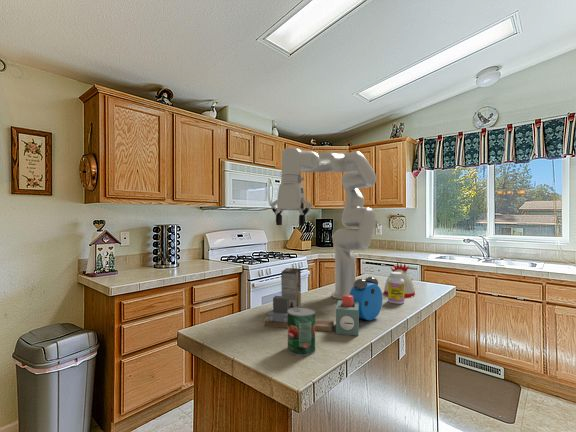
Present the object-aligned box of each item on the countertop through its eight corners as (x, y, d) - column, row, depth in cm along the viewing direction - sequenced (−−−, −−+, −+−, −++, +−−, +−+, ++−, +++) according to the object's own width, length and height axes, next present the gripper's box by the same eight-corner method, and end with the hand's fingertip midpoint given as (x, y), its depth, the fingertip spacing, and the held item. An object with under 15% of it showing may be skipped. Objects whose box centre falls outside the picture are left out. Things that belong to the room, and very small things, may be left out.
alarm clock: (369, 313, 120) (369, 274, 120) (383, 317, 115) (383, 276, 115) (347, 320, 111) (347, 278, 111) (361, 325, 106) (361, 281, 106)
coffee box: (286, 306, 129) (285, 267, 129) (301, 307, 128) (301, 268, 128) (281, 313, 120) (281, 271, 120) (297, 314, 119) (297, 272, 119)
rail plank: (270, 319, 113) (270, 315, 113) (333, 324, 107) (333, 319, 107) (264, 325, 106) (264, 321, 106) (331, 331, 101) (331, 326, 101)
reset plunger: (342, 309, 105) (342, 294, 105) (353, 309, 104) (353, 295, 104) (341, 312, 101) (341, 297, 101) (353, 313, 101) (353, 297, 101)
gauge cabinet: (338, 323, 108) (338, 300, 108) (358, 324, 107) (358, 301, 107) (335, 334, 98) (335, 309, 98) (358, 336, 97) (358, 310, 97)
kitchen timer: (415, 298, 140) (415, 265, 140) (384, 296, 145) (384, 264, 145) (413, 291, 154) (413, 261, 154) (384, 289, 158) (384, 260, 158)
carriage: (274, 314, 113) (274, 293, 113) (293, 315, 111) (293, 295, 111) (268, 321, 105) (268, 299, 105) (288, 323, 103) (288, 300, 103)
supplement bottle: (388, 303, 132) (388, 273, 132) (387, 299, 138) (387, 271, 138) (405, 304, 130) (405, 274, 130) (403, 300, 137) (403, 271, 137)
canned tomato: (321, 349, 87) (321, 310, 87) (301, 358, 82) (301, 317, 82) (301, 341, 93) (300, 305, 93) (281, 349, 87) (281, 310, 87)
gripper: (315, 181, 118) (314, 225, 117) (276, 183, 126) (275, 224, 125) (307, 178, 111) (306, 226, 111) (266, 180, 119) (265, 224, 119)
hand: (290, 225), depth 118 cm, fingers open, 9 cm apart
